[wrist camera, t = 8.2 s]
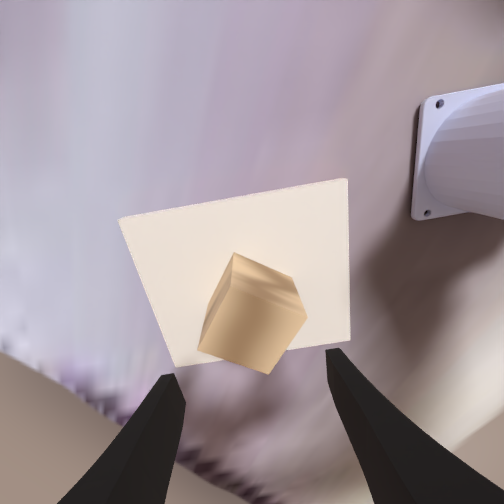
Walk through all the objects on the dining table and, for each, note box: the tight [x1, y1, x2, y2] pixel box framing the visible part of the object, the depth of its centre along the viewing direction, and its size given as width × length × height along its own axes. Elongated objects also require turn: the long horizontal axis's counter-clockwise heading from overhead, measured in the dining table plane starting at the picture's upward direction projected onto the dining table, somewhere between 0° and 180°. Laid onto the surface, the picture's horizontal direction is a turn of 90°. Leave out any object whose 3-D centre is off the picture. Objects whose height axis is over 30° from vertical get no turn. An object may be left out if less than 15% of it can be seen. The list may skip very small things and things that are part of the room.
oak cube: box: [197, 252, 308, 375], centre depth 17 cm, size 5×5×5 cm
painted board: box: [118, 178, 350, 367], centre depth 19 cm, size 16×14×1 cm
